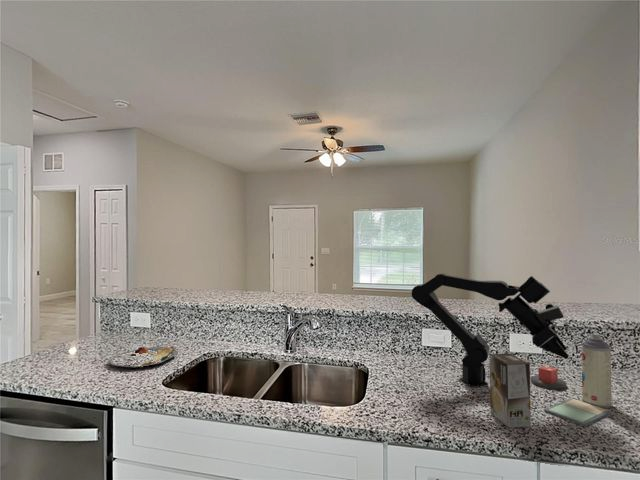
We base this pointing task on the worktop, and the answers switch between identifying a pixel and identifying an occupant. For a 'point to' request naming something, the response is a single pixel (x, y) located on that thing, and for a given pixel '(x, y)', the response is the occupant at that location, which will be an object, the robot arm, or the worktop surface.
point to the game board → (577, 411)
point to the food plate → (161, 355)
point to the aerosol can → (596, 372)
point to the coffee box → (510, 390)
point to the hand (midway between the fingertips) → (566, 353)
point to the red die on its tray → (550, 386)
